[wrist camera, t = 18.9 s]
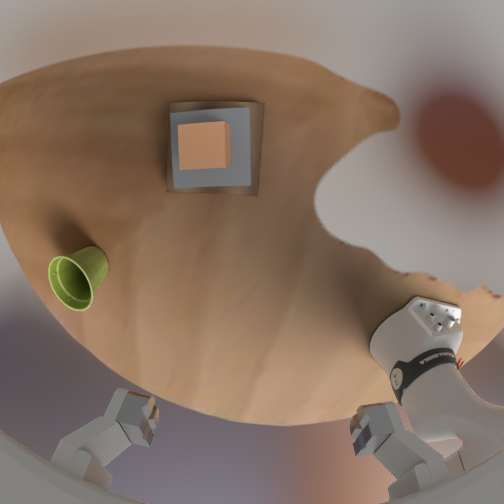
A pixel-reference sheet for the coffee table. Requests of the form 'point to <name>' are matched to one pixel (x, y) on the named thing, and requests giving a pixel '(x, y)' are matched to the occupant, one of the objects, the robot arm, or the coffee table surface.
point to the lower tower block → (256, 144)
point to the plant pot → (78, 276)
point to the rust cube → (204, 145)
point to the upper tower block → (240, 149)
